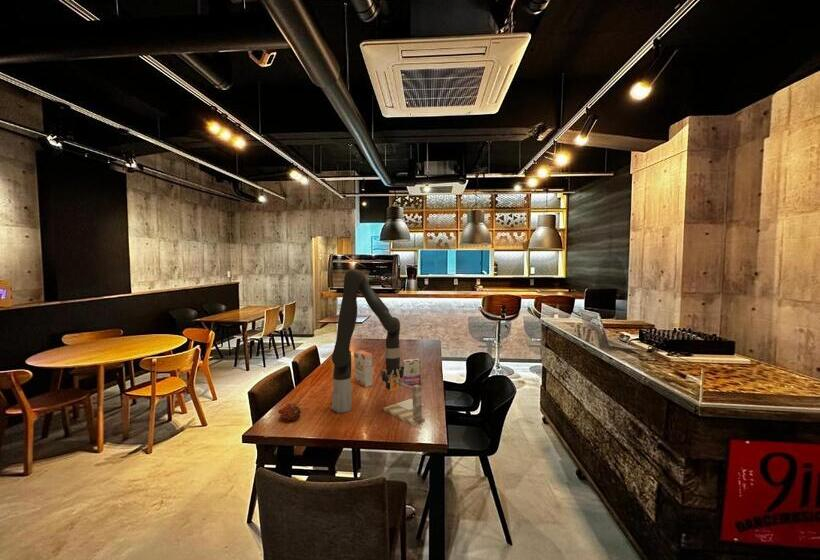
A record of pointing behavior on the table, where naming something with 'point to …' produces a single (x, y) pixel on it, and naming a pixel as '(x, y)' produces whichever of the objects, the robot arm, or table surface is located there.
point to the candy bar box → (411, 371)
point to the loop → (396, 386)
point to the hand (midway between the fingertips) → (392, 387)
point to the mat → (407, 404)
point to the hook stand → (404, 414)
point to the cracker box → (363, 368)
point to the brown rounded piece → (290, 412)
